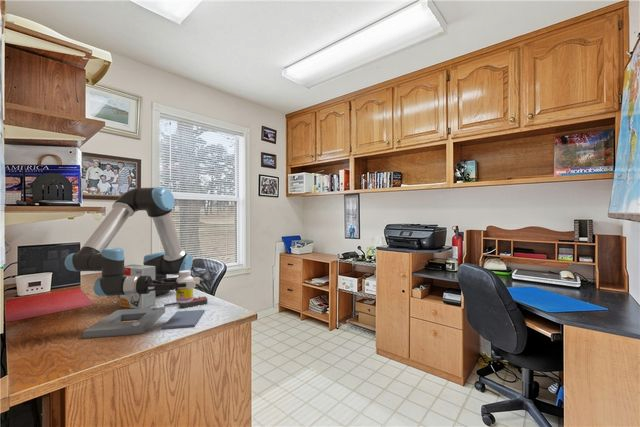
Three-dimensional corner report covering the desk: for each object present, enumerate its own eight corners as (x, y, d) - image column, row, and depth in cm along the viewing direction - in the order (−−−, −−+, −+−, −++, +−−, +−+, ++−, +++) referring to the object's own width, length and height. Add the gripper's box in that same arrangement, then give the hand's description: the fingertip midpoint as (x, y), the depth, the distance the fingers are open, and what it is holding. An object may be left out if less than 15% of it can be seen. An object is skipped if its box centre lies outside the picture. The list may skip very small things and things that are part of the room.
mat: (176, 313, 130) (177, 311, 130) (204, 311, 132) (204, 309, 132) (162, 329, 112) (162, 326, 112) (194, 326, 114) (194, 324, 114)
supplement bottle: (172, 302, 120) (172, 271, 120) (186, 298, 126) (186, 269, 126) (183, 304, 117) (183, 273, 117) (196, 300, 123) (196, 270, 123)
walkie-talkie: (206, 300, 151) (163, 307, 140) (206, 292, 151) (163, 298, 140) (210, 304, 144) (165, 312, 132) (210, 295, 144) (165, 303, 132)
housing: (117, 315, 128) (117, 307, 128) (165, 312, 131) (165, 304, 131) (83, 338, 104) (83, 328, 104) (142, 333, 108) (142, 324, 108)
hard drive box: (119, 307, 140) (118, 266, 140) (133, 302, 147) (133, 264, 147) (142, 310, 135) (142, 268, 135) (156, 305, 142) (156, 265, 142)
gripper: (148, 288, 128) (202, 285, 132) (127, 300, 109) (191, 297, 113) (148, 271, 128) (202, 269, 132) (127, 281, 109) (191, 278, 113)
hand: (197, 282), depth 123 cm, fingers closed on supplement bottle, 7 cm apart
